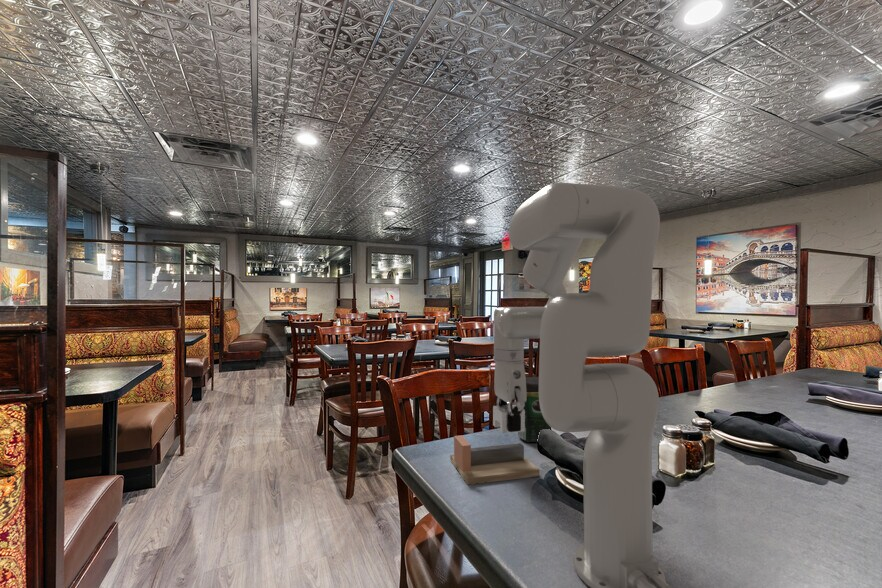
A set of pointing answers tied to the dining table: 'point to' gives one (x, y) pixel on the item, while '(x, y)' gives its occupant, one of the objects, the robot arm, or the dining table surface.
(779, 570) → the dining table surface
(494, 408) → the saddle block
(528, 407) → the coffee jar
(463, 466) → the stop
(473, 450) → the rail
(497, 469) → the board
